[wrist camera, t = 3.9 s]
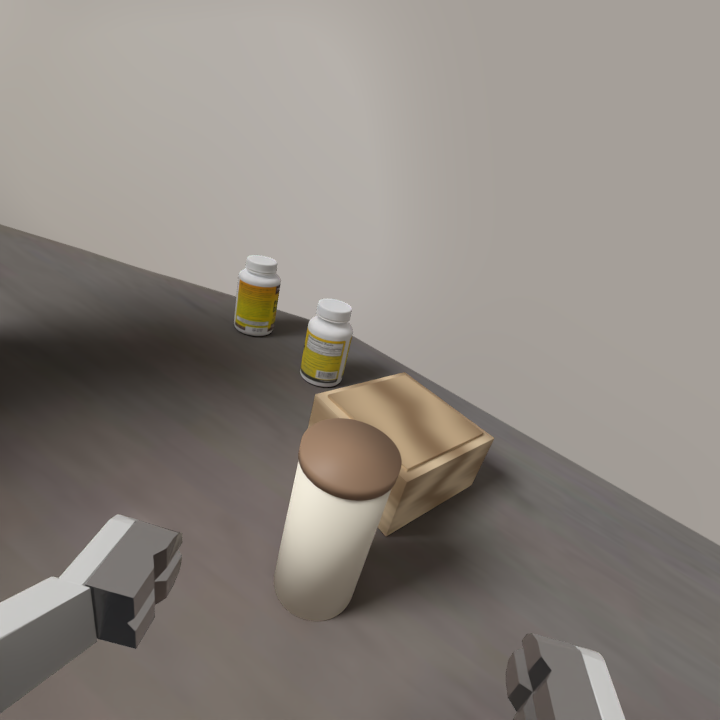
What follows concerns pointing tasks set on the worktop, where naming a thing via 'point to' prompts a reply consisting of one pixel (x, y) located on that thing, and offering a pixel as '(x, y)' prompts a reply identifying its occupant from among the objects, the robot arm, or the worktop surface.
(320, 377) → the supplement bottle
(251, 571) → the worktop surface
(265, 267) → the supplement bottle
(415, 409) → the oak block
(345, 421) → the cream tin
